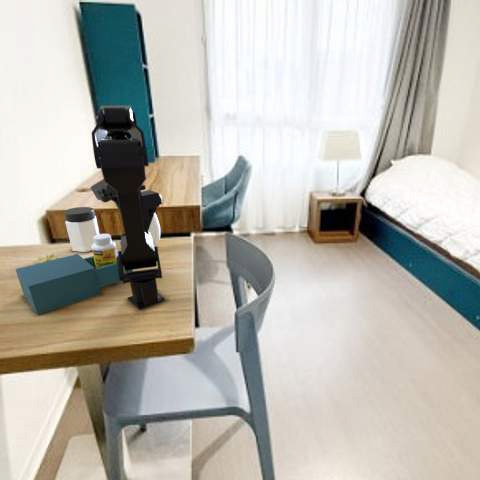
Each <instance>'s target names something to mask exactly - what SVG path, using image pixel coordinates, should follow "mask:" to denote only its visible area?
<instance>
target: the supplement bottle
mask: <svg viewBox="0 0 480 480" xmlns="http://www.w3.org/2000/svg"><path fill="white" fill-rule="evenodd" d="M93 240H94V244H93V245H92V256H93V257H94V261H95V266H96V268H99V267H103V266H107V265H110V264H114V263H117V259H116V257H117V256H118V254H117V251H118V248H117V244H116V242H115V241H113V240H112V235H111V234H109V233H100V234H99V235H96V236H94V237H93Z"/></svg>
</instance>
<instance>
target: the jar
mask: <svg viewBox="0 0 480 480" xmlns="http://www.w3.org/2000/svg"><path fill="white" fill-rule="evenodd" d="M63 214H64V219H65V227H66V231H67V235H68V240H69V242H70V243H69V244H70V248H71V251H73V252H79V253H87V252H88V253H89V252H91V251H92V245H93V244H94V240H93V237H94V236H96V235H99V234H101V233H100V229H99V224H98V220H97V216H96V213H95V209H94V208H93V207H90V206H78V207H72V208H68V209H66V210H64V211H63Z"/></svg>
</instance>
